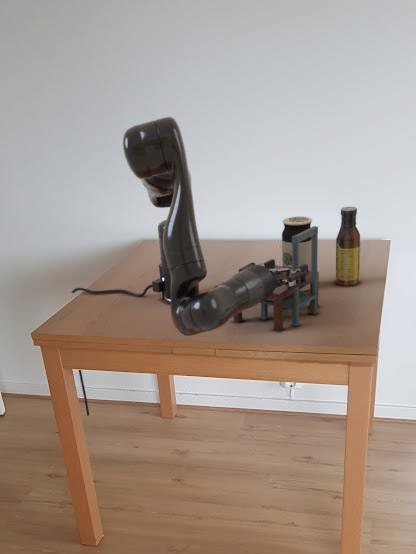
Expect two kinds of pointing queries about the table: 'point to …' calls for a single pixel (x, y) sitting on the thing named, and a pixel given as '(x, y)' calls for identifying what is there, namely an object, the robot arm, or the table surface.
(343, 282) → the sauce bottle
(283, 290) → the walnut table
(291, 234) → the travel mug
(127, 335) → the table surface
